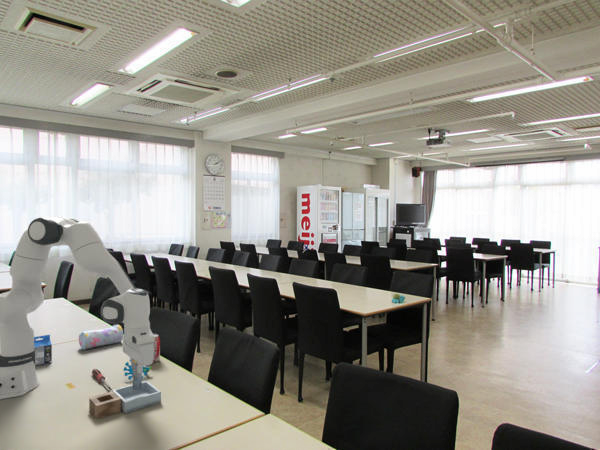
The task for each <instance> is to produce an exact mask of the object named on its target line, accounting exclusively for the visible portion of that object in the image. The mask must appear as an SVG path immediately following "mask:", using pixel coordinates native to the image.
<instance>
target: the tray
mask: <svg viewBox="0 0 600 450" xmlns="http://www.w3.org/2000/svg"><path fill="white" fill-rule="evenodd" d="M111 392H114V393H115V394H116V395H117V396H118V397H119V398H121V412H123V414H129V413H132V412H135V411H138V410H141V409H145V408H147V407H151V406H154V405H157V404H160V403H162V391H161V390H160V389H158V388H157V387H156V386H154V385H153V384H152V383H150V382H149V381H148V380H145V381H144V380H143V381H141V389H139V390H133V384H130V385H126V386H123V387H120V388H119V387H118V388H115V389H112V390H111Z"/></svg>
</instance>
